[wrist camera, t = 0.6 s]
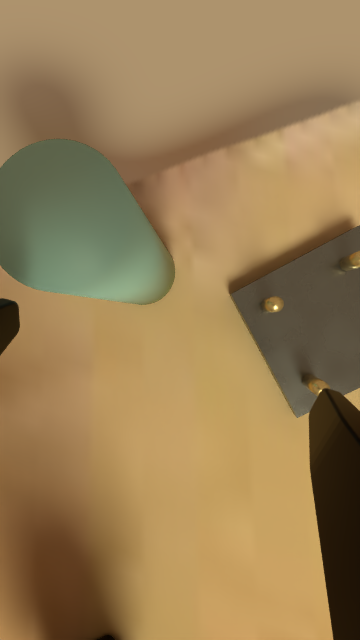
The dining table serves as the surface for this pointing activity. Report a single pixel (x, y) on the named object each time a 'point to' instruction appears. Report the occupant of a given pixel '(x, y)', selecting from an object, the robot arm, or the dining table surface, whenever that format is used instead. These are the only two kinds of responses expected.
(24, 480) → the dining table surface
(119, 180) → the teal wooden post
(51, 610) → the dining table surface
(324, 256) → the plate
